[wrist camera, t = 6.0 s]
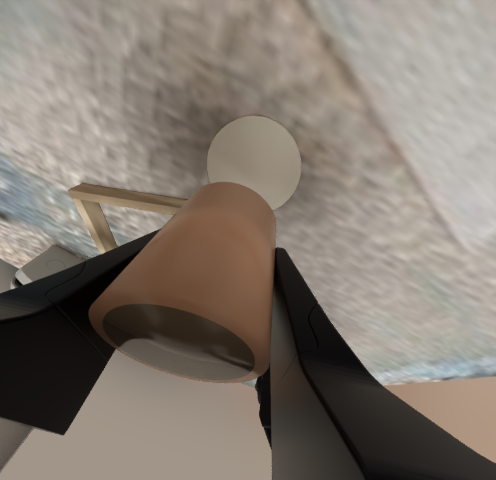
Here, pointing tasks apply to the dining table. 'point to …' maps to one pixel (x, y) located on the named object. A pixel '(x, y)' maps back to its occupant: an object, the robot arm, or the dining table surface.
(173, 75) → the dining table surface
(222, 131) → the cream saucer
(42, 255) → the light grey slab casing
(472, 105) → the dining table surface
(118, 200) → the wooden frame
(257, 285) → the terracotta pot
